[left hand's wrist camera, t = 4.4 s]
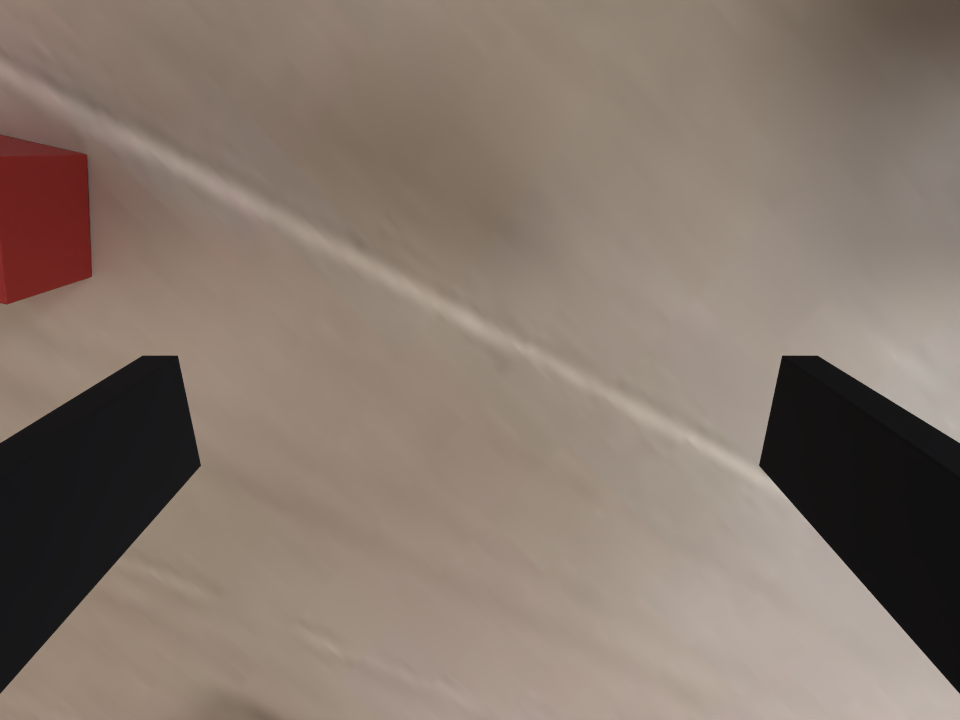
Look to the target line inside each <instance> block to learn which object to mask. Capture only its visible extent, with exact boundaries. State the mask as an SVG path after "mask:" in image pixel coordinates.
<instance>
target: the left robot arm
mask: <svg viewBox="0 0 960 720" xmlns="http://www.w3.org/2000/svg"><path fill="white" fill-rule="evenodd" d="M200 466H201V464H200V459H199V454H198V450H197V445H196V440H195V435H194V431H193V426H192V421H191V416H190V412H189V407H188V402H187V397H186V393H185V388H184V383H183V378H182V373H181V369H180V364H179V359H178V356H141V357H140V358H138V359H136V360H135V361H133V362H132V363H130V364H128V365H127V366H125V367H123V368H122V369H120V370H119V371H117V372H115V373H114V374H112V375H110V376H109V377H107V378H106V379H104V380H102V381H101V382H99V383H97V384H96V385H94V386H93V387H91V388H89V389H88V390H86V391H84V392H83V393H81V394H80V395H78V396H76V397H75V398H73V399H71V400H70V401H68V402H67V403H65V404H63V405H62V406H60V407H58V408H57V409H55V410H54V411H52V412H50V413H49V414H47V415H45V416H44V417H42V418H41V419H39V420H37V421H36V422H34V423H32V424H31V425H29V426H28V427H26V428H24V429H23V430H21V431H19V432H18V433H16V434H14V435H13V436H11V437H10V438H8V439H6V440H5V441H3V442H1V443H0V693H1V692H2V691H3V690H4V689H5V688H6V686H7V685H8V684H9V683H10V682H11V681H12V680H13V679H14V677H15V676H16V675H17V674H18V673H19V672H20V671H21V669H22V668H23V667H24V666H25V665H26V664H27V663H28V661H29V660H30V659H31V658H32V657H33V656H34V655H35V654H36V652H37V651H38V650H39V649H40V648H41V647H42V646H43V644H44V643H45V642H46V641H47V640H48V639H49V638H50V636H51V635H52V634H53V633H54V632H55V631H56V630H57V629H58V627H59V626H60V625H61V624H62V623H63V622H64V621H65V619H66V618H67V617H68V616H69V615H70V614H71V613H72V611H73V610H74V609H75V608H76V607H77V606H78V605H79V604H80V602H81V601H82V600H83V599H84V598H85V597H86V596H87V594H88V593H89V592H90V591H91V590H92V589H93V588H94V586H95V585H96V584H97V583H98V582H99V581H100V580H101V579H102V577H103V576H104V575H105V574H106V573H107V572H108V571H109V569H110V568H111V567H112V566H113V565H114V564H115V563H116V561H117V560H118V559H119V558H120V557H121V556H122V555H123V553H124V552H125V551H126V550H127V549H128V548H129V547H130V546H131V544H132V543H133V542H134V541H135V540H136V539H137V538H138V536H139V535H140V534H141V533H142V532H143V531H144V530H145V528H146V527H147V526H148V525H149V524H150V523H151V522H152V521H153V519H154V518H155V517H156V516H157V515H158V514H159V513H160V511H161V510H162V509H163V508H164V507H165V506H166V505H167V503H168V502H169V501H170V500H171V499H172V498H173V497H174V496H175V494H176V493H177V492H178V491H179V490H180V489H181V488H182V486H183V485H184V484H185V483H186V482H187V481H188V480H189V478H190V477H191V476H192V475H193V474H194V473H195V472H196V471H197V469H198V468H199V467H200ZM759 466H760V467H761V468H762V469H763V471H764V472H765V473H766V474H767V475H768V476H769V477H770V478H771V480H772V481H773V482H774V483H775V484H776V485H777V486H778V488H779V489H780V490H781V491H782V492H783V493H784V494H785V496H786V497H787V498H788V499H789V500H790V501H791V502H792V503H793V505H794V506H795V507H796V508H797V509H798V510H799V511H800V513H801V514H802V515H803V516H804V517H805V518H806V519H807V521H808V522H809V523H810V524H811V525H812V526H813V527H814V528H815V530H816V531H817V532H818V533H819V534H820V535H821V536H822V538H823V539H824V540H825V541H826V542H827V543H828V544H829V546H830V547H831V548H832V549H833V550H834V551H835V552H836V553H837V555H838V556H839V557H840V558H841V559H842V560H843V561H844V563H845V564H846V565H847V566H848V567H849V568H850V569H851V571H852V572H853V573H854V574H855V575H856V576H857V577H858V579H859V580H860V581H861V582H862V583H863V584H864V585H865V586H866V588H867V589H868V590H869V591H870V592H871V593H872V594H873V596H874V597H875V598H876V599H877V600H878V601H879V602H880V604H881V605H882V606H883V607H884V608H885V609H886V610H887V611H888V613H889V614H890V615H891V616H892V617H893V618H894V619H895V621H896V622H897V623H898V624H899V625H900V626H901V627H902V629H903V630H904V631H905V632H906V633H907V634H908V635H909V636H910V638H911V639H912V640H913V641H914V642H915V643H916V644H917V646H918V647H919V648H920V649H921V650H922V651H923V652H924V654H925V655H926V656H927V657H928V658H929V659H930V660H931V661H932V663H933V664H934V665H935V666H936V667H937V668H938V669H939V671H940V672H941V673H942V674H943V675H944V676H945V677H946V679H947V680H948V681H949V682H950V683H951V684H952V685H953V687H954V688H955V689H956V690H957V691H958V692H959V693H960V443H959V442H957V441H955V440H954V439H952V438H950V437H949V436H947V435H945V434H944V433H942V432H941V431H939V430H937V429H936V428H934V427H932V426H931V425H929V424H928V423H926V422H924V421H923V420H921V419H919V418H918V417H916V416H915V415H913V414H911V413H910V412H908V411H906V410H905V409H903V408H902V407H900V406H898V405H897V404H895V403H893V402H892V401H890V400H889V399H887V398H885V397H884V396H882V395H880V394H879V393H877V392H876V391H874V390H872V389H871V388H869V387H867V386H866V385H864V384H863V383H861V382H859V381H858V380H856V379H854V378H853V377H851V376H850V375H848V374H846V373H845V372H843V371H841V370H840V369H838V368H837V367H835V366H833V365H832V364H830V363H828V362H827V361H825V360H824V359H822V358H820V357H819V356H782V359H781V364H780V369H779V373H778V378H777V383H776V388H775V393H774V397H773V402H772V407H771V412H770V416H769V421H768V426H767V431H766V435H765V440H764V445H763V450H762V454H761V459H760V464H759Z"/></svg>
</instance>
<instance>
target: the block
mask: <svg viewBox="0 0 960 720" xmlns="http://www.w3.org/2000/svg"><path fill="white" fill-rule="evenodd" d="M91 276H92V272H91V247H90V222H89V197H88V173H87V155H86V154H82V153H78V152H74V151H69V150H65V149H60V148H56V147H52V146H47V145H43V144H38V143H34V142H30V141H25V140H21V139H16V138H12V137H8V136H3V135H0V303H2V304H9V303H13V302H16V301H19V300H22V299H25V298H28V297H31V296H34V295H37V294H40V293H43V292H46V291H49V290H52V289H56V288H59V287H62V286H65V285H68V284H71V283H74V282H77V281H80V280H83V279H86V278H89V277H91Z"/></svg>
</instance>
